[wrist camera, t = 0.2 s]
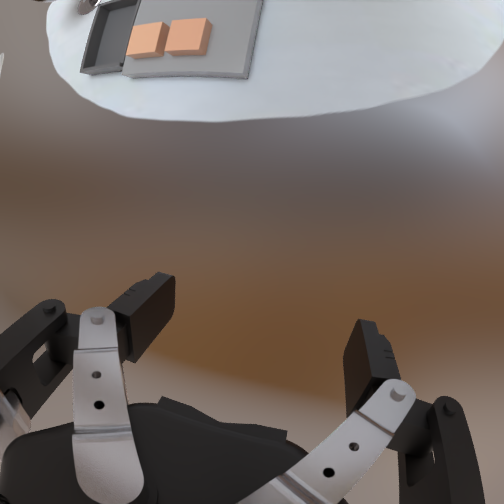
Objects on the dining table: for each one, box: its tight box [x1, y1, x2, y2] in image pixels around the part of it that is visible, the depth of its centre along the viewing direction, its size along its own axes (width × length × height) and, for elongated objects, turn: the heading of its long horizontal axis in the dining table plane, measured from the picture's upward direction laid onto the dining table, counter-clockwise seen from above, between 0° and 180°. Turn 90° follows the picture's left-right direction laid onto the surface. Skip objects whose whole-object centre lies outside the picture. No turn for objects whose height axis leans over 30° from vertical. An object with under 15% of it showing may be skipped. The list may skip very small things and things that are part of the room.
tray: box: [80, 0, 141, 75], centre depth 32 cm, size 14×9×4 cm, turn 171°
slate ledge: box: [122, 0, 263, 79], centre depth 31 cm, size 16×19×3 cm
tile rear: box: [126, 22, 170, 59], centre depth 30 cm, size 5×5×2 cm
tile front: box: [164, 18, 212, 56], centre depth 29 cm, size 5×5×2 cm
